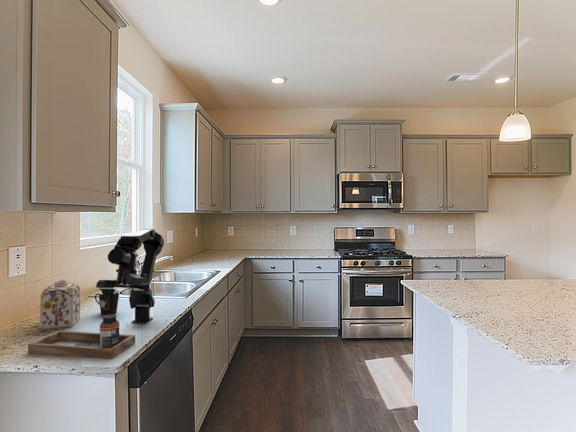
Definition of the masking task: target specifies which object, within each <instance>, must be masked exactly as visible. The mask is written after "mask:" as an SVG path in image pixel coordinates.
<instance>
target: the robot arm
mask: <svg viewBox="0 0 576 432" xmlns="http://www.w3.org/2000/svg"><path fill="white" fill-rule="evenodd" d="M142 245H143V249H144V252H145V256H144V259H143V263H142V267H141V271H140V274H137V273H138V271H137V269H136V262H137V258H138V257H139V255H138V253H137V251H138V250H139V249H140V248H141V247H142ZM164 247H165V239H164V238H163V236H162V235H161V234H160V233H158V232H156V230H155V229H154V228H143V229H142V230H140V231H138V232H135V233H134V234H122V235H121V236H120V238H118V240H117V242H116V244H115V245H114V247H113V249H111V250H110V251H109V252H108V254H107V260H108V262H109V263H110V264H112V265H118V268H116V269H115V273H117V277H116V279H115V280H113V279H99V280H98V281H97V282H96V286H95V288H96V289H99V290H98V291H100V292H101V291H102V293H103V295H104V298H105V300H106V303H107V306H108V309H111V306H112V300H113V293H114V292H115V290H117V288H124V289H125V288H128V289H131V290H130V294H129V298H128V299H129V305H130V307H129V308H130V309H131V310H133V309H134V319H133V320H131V323H132V324H135V323H136V324H147V323H149V322H150V321H151V320H154V317H151V314H150V313H151V308H154V307H155V302H156V300H155V298H154V296H153V291H152V288H151V283H152V278H153V277H152V276H153V273H154V268H155V264H156V260H157V257H158V256H159V255H160V253H162V250H163V248H164Z"/></svg>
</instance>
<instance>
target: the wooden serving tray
mask: <svg viewBox="0 0 576 432" xmlns="http://www.w3.org/2000/svg"><path fill="white" fill-rule="evenodd" d="M58 341H70V342H78V343H75V344H74V345H71V344H70V345H69V344H55V343H56V342H58ZM134 343H135V344H136V334H125V333H123V334H122V333H121V334H120V333H119V343H118V344H117V345H115V346H114V347H112V348H102V347H100V332H88V331H76V330H75V331H73V330H58V331H55V332H53V333H50V334H48V335H46V336H44V337H41V338H39V339H37V340H35V341H31V342H30V343H28V344H27V354H35V355H49V356H50V355H51V356H61V357H64V356H65V357H74V358H75V357H77V358H78V357H79V358H88V359H89V358H92V359H102V360H103V359H105V360H113V359H114V358H116V357H117V356H119V355H120V354H122V353H123V352H124V350H125V351H126V350H128V349H129V348H131V347H132V346H133V344H134ZM135 344H134V345H135ZM130 346H131V347H130ZM127 348H128V349H127Z"/></svg>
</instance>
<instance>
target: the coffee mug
mask: <svg viewBox="0 0 576 432" xmlns="http://www.w3.org/2000/svg"><path fill="white" fill-rule="evenodd" d="M97 296H98V299H97ZM119 296H120V290H119V289H116V290H115V292H114V293H113V300H112V306H111V309H108V306H107V303H106V300H105V298H104V295H103V293H102V291H101V290H100V291H99V292H98V293H96V294H95V295H94V300H95V301H96V303H97V304H98V305H99V308H100V309H99V310H100V315H101V316H105V315H109V314H115V315H116V314H117V312H118V305H119Z"/></svg>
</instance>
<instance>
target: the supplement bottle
mask: <svg viewBox="0 0 576 432" xmlns="http://www.w3.org/2000/svg"><path fill="white" fill-rule="evenodd" d="M102 316H103V315H102ZM99 333H100V347H102V348H112V347H114V346H115V345H117V344H118V343H119V334H120V322H119V320H118V319H117V315H116V314H109V315H105V316H103V317H102V322H100V324H99Z"/></svg>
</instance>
